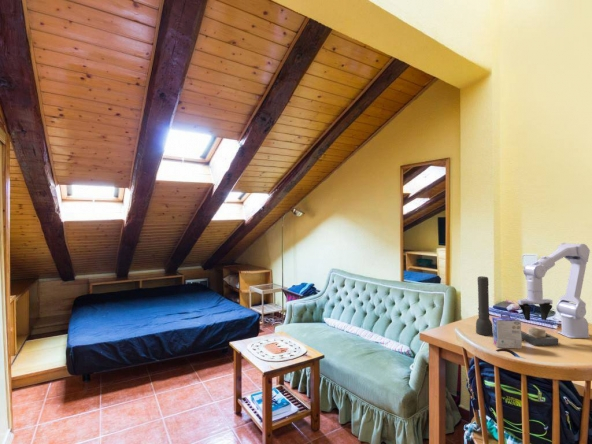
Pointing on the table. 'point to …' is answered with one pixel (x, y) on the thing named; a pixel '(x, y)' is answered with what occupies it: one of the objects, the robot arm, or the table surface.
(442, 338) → the table surface
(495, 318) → the ink cartridge box
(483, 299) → the flashlight
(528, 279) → the robot arm
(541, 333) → the birch block
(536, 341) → the cradle
